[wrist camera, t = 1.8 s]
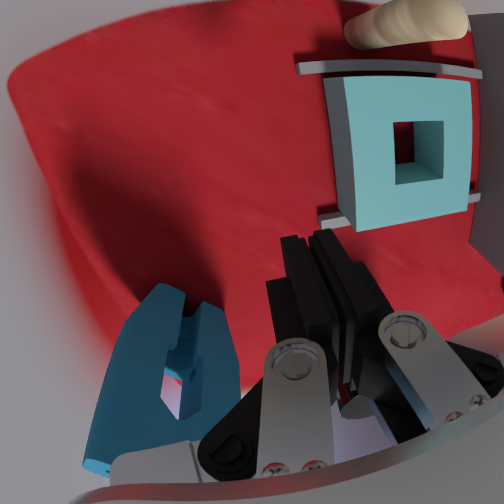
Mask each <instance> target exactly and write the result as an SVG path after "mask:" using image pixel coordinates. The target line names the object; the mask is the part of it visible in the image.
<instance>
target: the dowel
mask: <svg viewBox="0 0 504 504" xmlns="http://www.w3.org/2000/svg"><path fill="white" fill-rule="evenodd" d="M467 29H468V19H467V15H466V12H465V10H464V8H463V6H462V4H461V3H460V1H459V0H393V1H390V2H388V3H385V4H383V5H381V6H378V7H376V8H374V9H371V10H369V11H367V12H365V13H363V14H360V15H358V16H356V17H354V18H352V19H350V20H348V21H347V22H346V24H345V26H344V36H345V38H346V40H347V42H348V43H349V44H350V45H351V46H353V47H354V48H356V49H358V50H364V51H365V50H371V49H376V48H382V47H388V46H394V45H401V44H408V43H416V42H425V41H435V40H449V39H460V38H462V37H463V36H464V35H465V34H466V32H467Z"/></svg>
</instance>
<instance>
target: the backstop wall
mask: <svg viewBox="0 0 504 504" xmlns="http://www.w3.org/2000/svg"><path fill="white" fill-rule="evenodd" d="M468 17H469V21H470V26H471V31H472V36H473V42H474V48H475V55H476V62H477V69H473V68H467V67H461V66H454V65H447V64H440V63H431V62H420V61H407V60H386V59H348V60H327V61H313V62H302V63H297V64H296V69H297V74H298V75H304V74H314V73H326V72H342V71H413V72H428V73H439V74H448V75H457V76H464V77H471V78H477V79H478V81H479V94H480V118H481V138H480V163H479V177H478V187H477V190H475V189H472V190H469V196H468V203H472V202H476V204H475V211H474V218H473V224H472V230H471V235H470V240H469V244H470V245H472V246H473V247H474V248H475V249H476V250H477V251H478V252H479V253H480V254H481V255H482V256H483V257H484V258H485V259H486V260H487V261H488V262H489V263H490V264H491V265H492V266H493V267H494V268H495V269H496V270H497V271H498V272H499V273H500V274H501V275H502V276H503V277H504V13H493V14H479V15H468ZM318 223H319V226H320V228H321V230H322V229H327V228H331V229H333V228H338V227H343V226H348V225H351V224H350V223H349V221H348V220H347V219H346V217H345V216H344V215H343V214H342V212H341V211H339V212H334V213H328V214H323V215H318Z"/></svg>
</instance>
